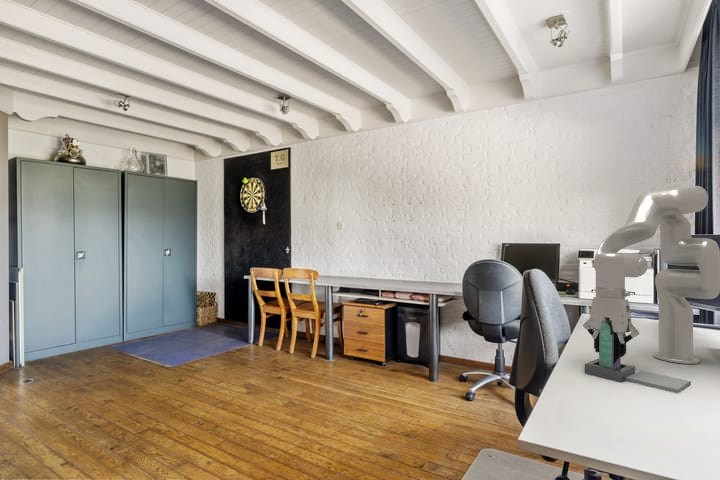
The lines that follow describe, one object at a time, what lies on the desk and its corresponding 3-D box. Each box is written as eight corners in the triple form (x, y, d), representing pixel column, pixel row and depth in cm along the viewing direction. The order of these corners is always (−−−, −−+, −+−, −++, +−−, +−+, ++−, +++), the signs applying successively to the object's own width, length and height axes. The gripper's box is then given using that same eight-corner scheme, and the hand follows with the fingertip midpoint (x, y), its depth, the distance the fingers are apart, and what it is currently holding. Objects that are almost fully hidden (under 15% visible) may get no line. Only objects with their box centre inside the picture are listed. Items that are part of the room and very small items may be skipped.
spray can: (623, 378, 116) (624, 310, 116) (603, 377, 117) (603, 309, 118) (615, 373, 121) (615, 307, 122) (596, 371, 122) (596, 306, 123)
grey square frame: (598, 368, 126) (598, 358, 126) (634, 376, 118) (635, 366, 118) (584, 373, 120) (584, 363, 120) (621, 382, 112) (621, 372, 112)
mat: (641, 373, 121) (641, 370, 121) (690, 384, 112) (690, 381, 112) (625, 380, 114) (625, 377, 114) (677, 393, 105) (677, 389, 105)
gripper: (647, 296, 115) (647, 358, 115) (585, 290, 129) (585, 346, 128) (638, 297, 111) (638, 362, 110) (574, 291, 124) (574, 349, 124)
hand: (609, 353), depth 119 cm, fingers closed on spray can, 5 cm apart
